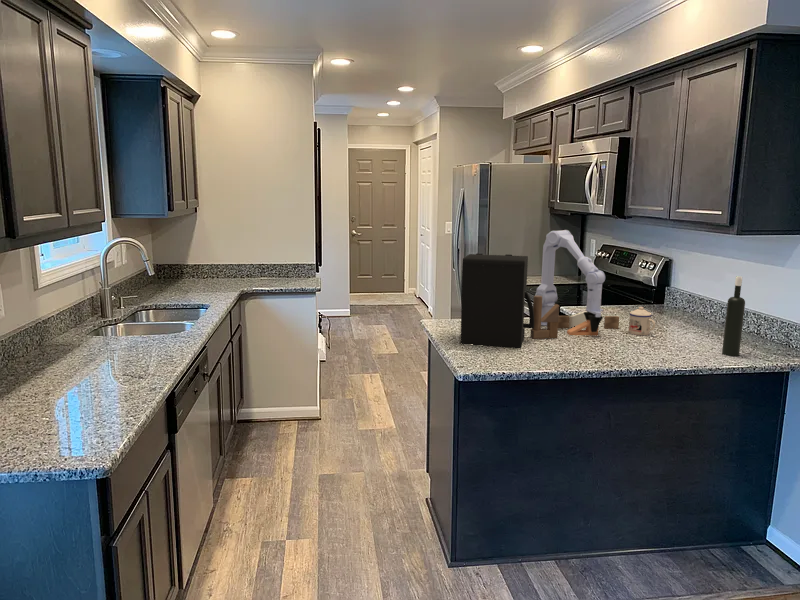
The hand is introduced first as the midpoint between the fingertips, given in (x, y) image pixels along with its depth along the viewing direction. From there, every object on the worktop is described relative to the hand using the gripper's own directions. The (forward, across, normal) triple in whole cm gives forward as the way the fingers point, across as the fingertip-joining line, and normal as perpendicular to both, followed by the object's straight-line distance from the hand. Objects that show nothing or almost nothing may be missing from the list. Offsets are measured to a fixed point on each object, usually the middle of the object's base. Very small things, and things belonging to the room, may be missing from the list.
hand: (592, 330), depth 258 cm
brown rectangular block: (+2, +12, -1) cm, 12 cm away
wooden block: (+2, -6, +22) cm, 23 cm away
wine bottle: (+2, -30, -44) cm, 53 cm away
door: (+2, +17, +1) cm, 17 cm away
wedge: (+2, 0, +4) cm, 4 cm away
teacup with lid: (+2, +2, -22) cm, 22 cm away
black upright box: (+2, -12, +42) cm, 44 cm away
